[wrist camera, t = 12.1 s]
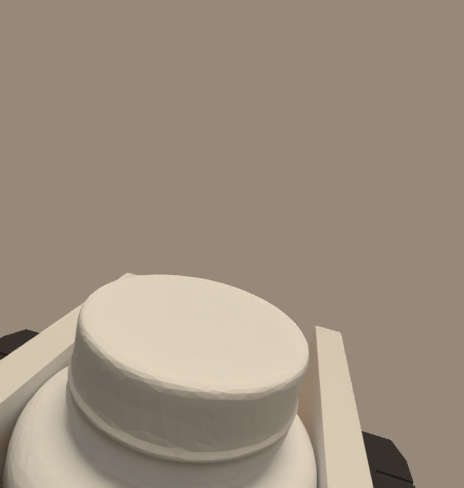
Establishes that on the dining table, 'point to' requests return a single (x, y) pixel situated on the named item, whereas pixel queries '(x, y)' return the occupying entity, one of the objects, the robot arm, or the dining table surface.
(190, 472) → the supplement bottle
